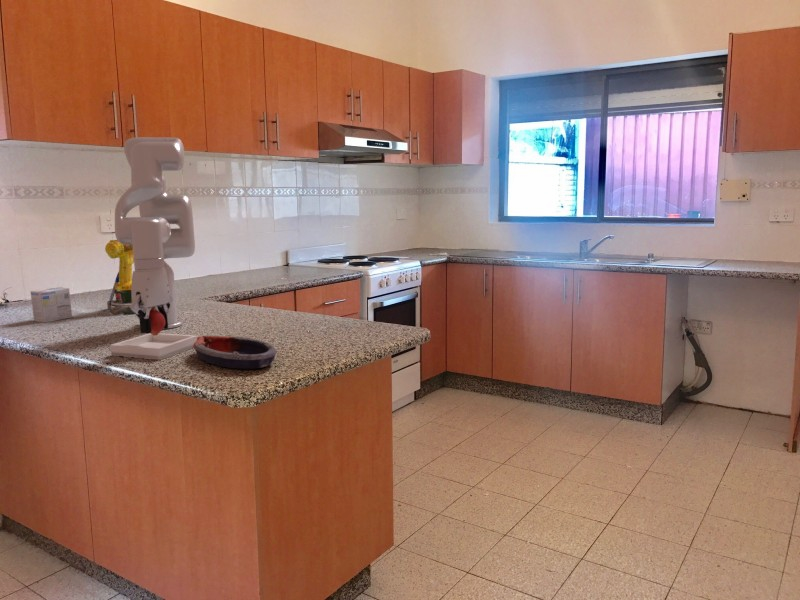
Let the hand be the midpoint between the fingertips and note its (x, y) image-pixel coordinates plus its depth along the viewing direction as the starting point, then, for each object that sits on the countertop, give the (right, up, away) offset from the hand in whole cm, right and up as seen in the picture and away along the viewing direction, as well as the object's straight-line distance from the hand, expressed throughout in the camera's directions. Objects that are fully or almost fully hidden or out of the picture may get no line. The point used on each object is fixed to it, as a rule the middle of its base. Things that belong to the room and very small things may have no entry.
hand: (154, 329), depth 178 cm
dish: (+24, -8, -10) cm, 28 cm away
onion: (0, -2, 0) cm, 2 cm away
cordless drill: (-33, +4, +68) cm, 76 cm away
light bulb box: (-55, +1, +51) cm, 75 cm away
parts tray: (0, -6, +1) cm, 6 cm away
